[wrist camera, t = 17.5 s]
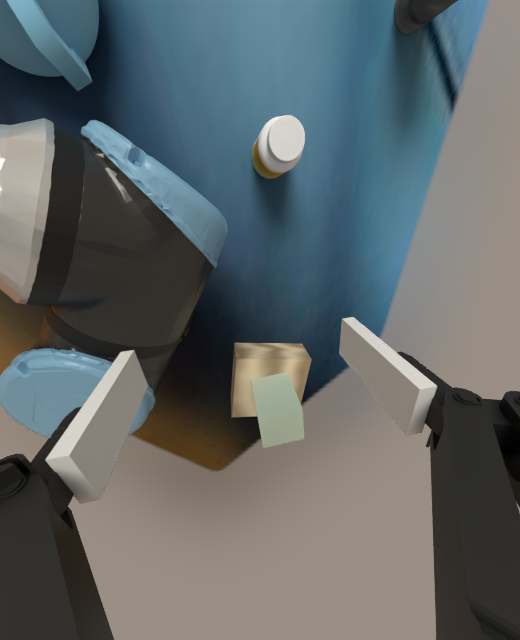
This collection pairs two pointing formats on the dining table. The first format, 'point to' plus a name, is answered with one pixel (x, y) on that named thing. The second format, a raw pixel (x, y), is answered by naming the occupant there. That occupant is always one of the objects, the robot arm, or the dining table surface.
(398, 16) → the beverage cup
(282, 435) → the sage block
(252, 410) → the maple block
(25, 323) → the dining table surface
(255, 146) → the supplement bottle
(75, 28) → the teapot
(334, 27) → the dining table surface
